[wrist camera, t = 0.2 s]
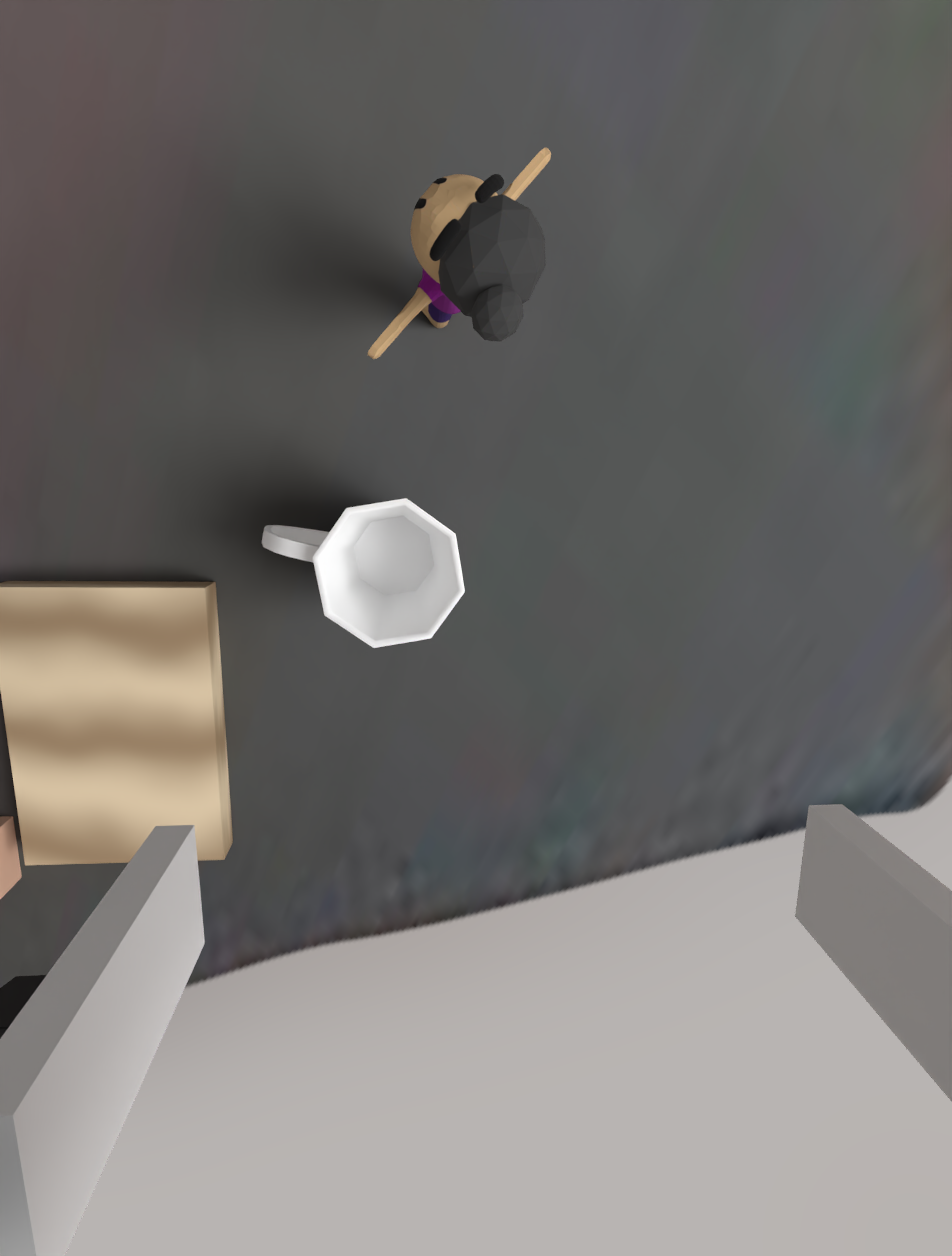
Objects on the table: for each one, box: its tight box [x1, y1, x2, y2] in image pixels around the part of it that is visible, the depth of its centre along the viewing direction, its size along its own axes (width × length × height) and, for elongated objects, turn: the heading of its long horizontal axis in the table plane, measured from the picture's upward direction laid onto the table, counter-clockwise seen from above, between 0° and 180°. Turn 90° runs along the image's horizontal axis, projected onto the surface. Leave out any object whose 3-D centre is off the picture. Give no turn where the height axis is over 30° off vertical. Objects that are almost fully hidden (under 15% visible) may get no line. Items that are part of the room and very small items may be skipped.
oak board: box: [0, 581, 233, 865], centre depth 39 cm, size 16×11×2 cm
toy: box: [368, 148, 551, 359], centre depth 30 cm, size 10×6×15 cm, turn 137°
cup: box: [262, 498, 465, 648], centre depth 35 cm, size 7×10×8 cm
